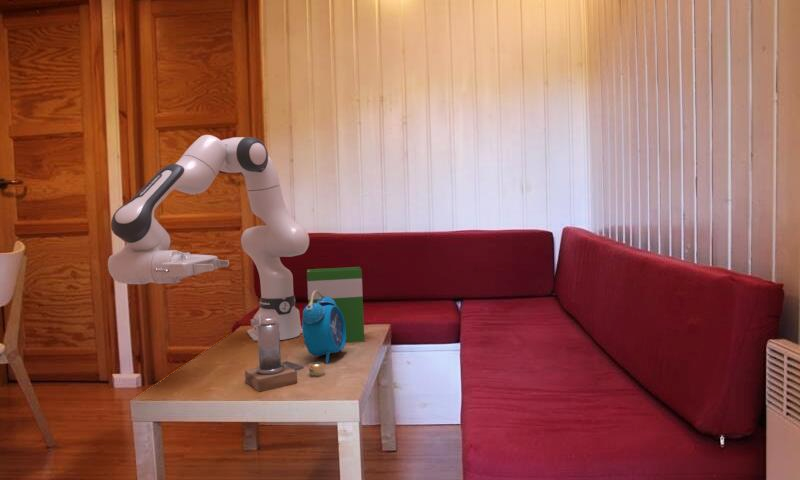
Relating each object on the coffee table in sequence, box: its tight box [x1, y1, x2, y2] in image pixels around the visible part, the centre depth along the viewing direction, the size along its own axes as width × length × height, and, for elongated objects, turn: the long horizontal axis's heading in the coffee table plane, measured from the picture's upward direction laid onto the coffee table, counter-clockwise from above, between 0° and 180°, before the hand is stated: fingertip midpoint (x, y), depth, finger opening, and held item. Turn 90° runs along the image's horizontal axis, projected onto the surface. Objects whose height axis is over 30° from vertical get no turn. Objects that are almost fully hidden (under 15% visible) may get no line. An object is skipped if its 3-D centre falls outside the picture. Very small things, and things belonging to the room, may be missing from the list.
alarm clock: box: [301, 290, 346, 364], centre depth 160 cm, size 17×10×20 cm, turn 168°
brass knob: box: [308, 361, 325, 378], centre depth 143 cm, size 4×4×3 cm
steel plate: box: [281, 361, 305, 372], centre depth 150 cm, size 8×6×1 cm
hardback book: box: [306, 266, 365, 344], centre depth 179 cm, size 18×7×24 cm, turn 99°
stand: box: [244, 362, 298, 393], centre depth 138 cm, size 10×10×3 cm
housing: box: [255, 317, 284, 375], centre depth 138 cm, size 7×7×14 cm
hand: (221, 265), depth 142 cm, fingers open, 8 cm apart
